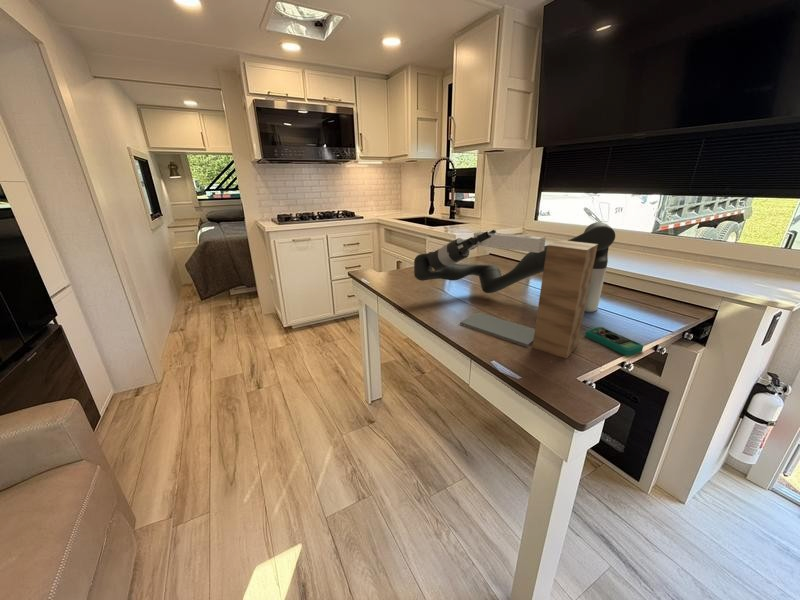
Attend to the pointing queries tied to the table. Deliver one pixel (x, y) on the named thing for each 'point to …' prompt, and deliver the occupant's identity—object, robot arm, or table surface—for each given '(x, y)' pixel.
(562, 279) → the walnut stand
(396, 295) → the table surface
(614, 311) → the table surface
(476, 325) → the rubber mat
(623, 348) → the digital multimeter
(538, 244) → the aluminium bar
